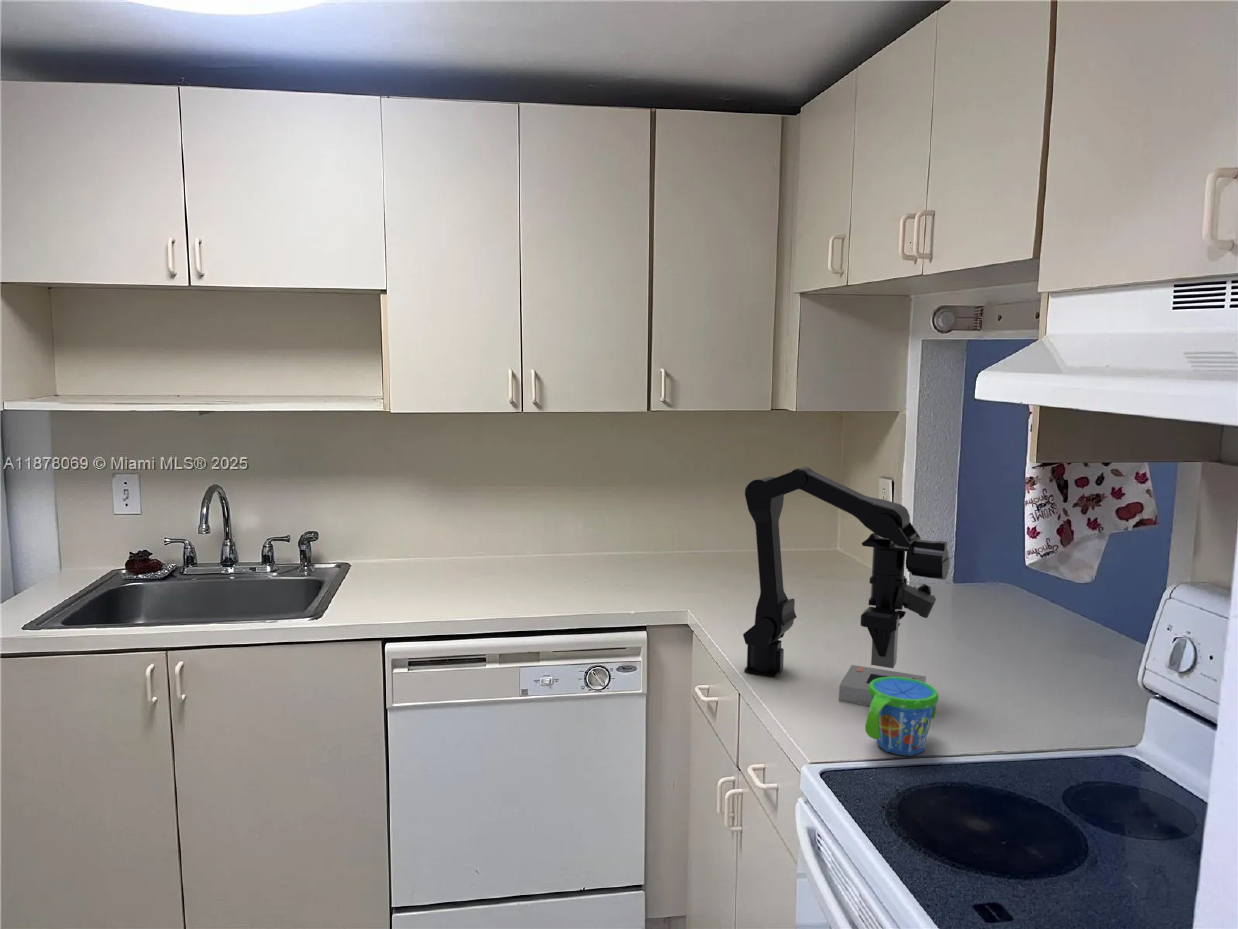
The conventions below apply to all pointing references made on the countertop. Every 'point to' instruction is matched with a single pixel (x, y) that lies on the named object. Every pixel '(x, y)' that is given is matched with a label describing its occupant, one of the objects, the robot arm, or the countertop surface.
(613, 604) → the countertop surface
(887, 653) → the plug
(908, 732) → the snack cup
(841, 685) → the socket plate
